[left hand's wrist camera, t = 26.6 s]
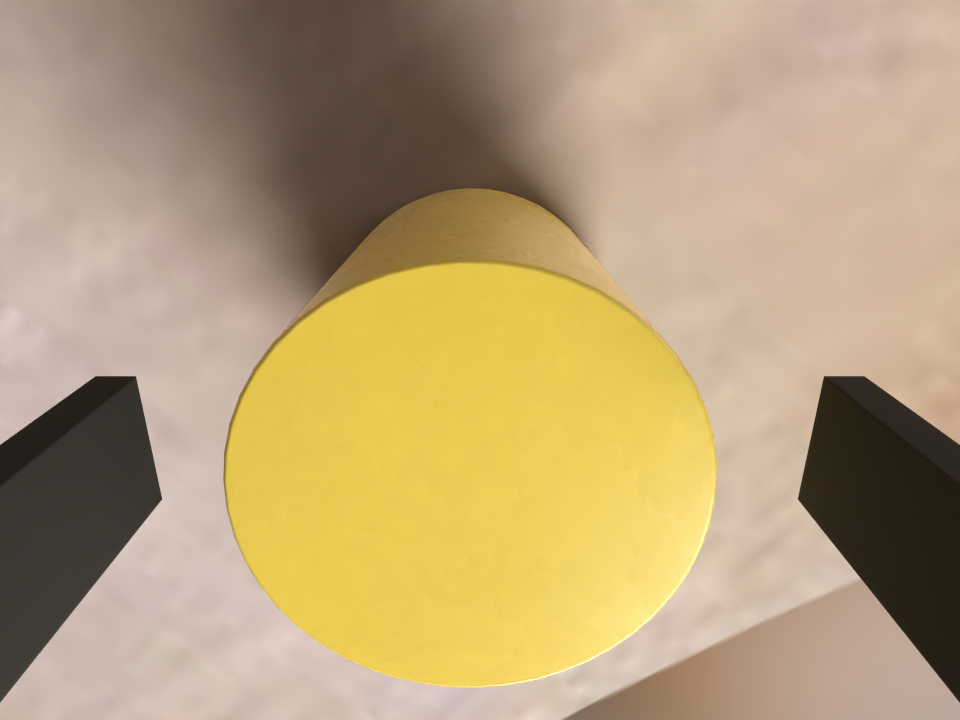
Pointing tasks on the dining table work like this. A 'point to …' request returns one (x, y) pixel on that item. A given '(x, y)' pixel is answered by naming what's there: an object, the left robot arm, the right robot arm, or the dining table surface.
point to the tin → (470, 452)
